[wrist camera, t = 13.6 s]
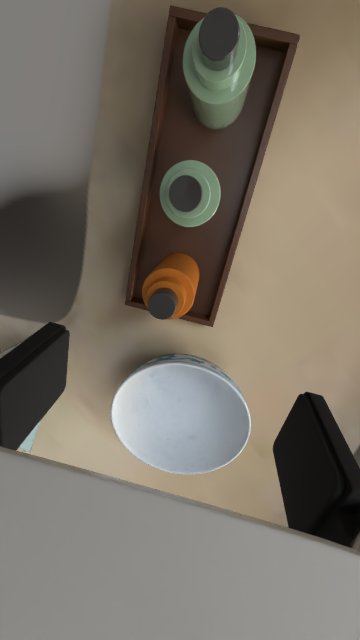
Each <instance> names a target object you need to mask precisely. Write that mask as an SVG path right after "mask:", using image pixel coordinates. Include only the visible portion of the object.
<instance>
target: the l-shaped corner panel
mask: <svg viewBox="0 0 360 640" xmlns="http://www.w3.org/2000/svg"><path fill="white" fill-rule="evenodd" d="M40 421H41V420H40ZM40 421H39V423H38V424H37V425H36V426H35V428H34V429H33V430H32V431H31V433H30V434H29V435H28V436H27V438H26V439H25V440H24V441H23V443H22V444H21V445H20V446H19V448H21V449H23V450H25V451H27V452H30V449H31V446H32V443H33V441H34V438H35V435H36V432H37V429H38V427H39V424H40Z"/></svg>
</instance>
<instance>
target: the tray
mask: <svg viewBox="0 0 360 640" xmlns="http://www.w3.org/2000/svg"><path fill="white" fill-rule="evenodd" d="M206 15H207V14H205V13H201V12H197V11H192V10H188V9H183V8H179V7H175V6H170V10H169V17H168V23H167V30H166V37H165V43H164V50H163V56H162V63H161V70H160V76H159V83H158V89H157V96H156V103H155V109H154V116H153V122H152V129H151V136H150V142H149V149H148V155H147V162H146V169H145V175H144V182H143V188H142V195H141V202H140V208H139V215H138V221H137V228H136V235H135V241H134V248H133V254H132V261H131V268H130V274H129V281H128V287H127V294H126V301H125V305H128V306H132V307H136V308H140V309H144V310H148V311H149V309H148V308H147V306H146V305H145V303H144V300H143V296H142V287H143V284H144V281H145V280H146V278H147V277H148V276H149V275H150V273H151V272H152V271H153V270H154V269H155V268H156V267H157V266H158V265H159V264H160V263H161V262H162V260H163V259H164V258H166V257H167V256H169V255H171V254H174V253H182V254H186V255H188V256H190V257H191V258H192V259H193V260H194V261H195V262H196V263H197V265H198V268H199V273H200V276H199V281H198V286H197V290H196V294H195V298H194V302H193V305H192V307H191V308H190V310H189V311H188V312H187V313H186V314H184V315H183V316H181V317H178V318H179V319H183V320H187V321H191V322H195V323H199V324H203V325H207V326H211V327H213V325H214V321H215V318H216V315H217V311H218V308H219V305H220V301H221V298H222V295H223V291H224V288H225V285H226V281H227V278H228V275H229V271H230V268H231V265H232V261H233V258H234V255H235V251H236V248H237V245H238V241H239V238H240V235H241V231H242V228H243V225H244V221H245V218H246V215H247V211H248V208H249V205H250V201H251V198H252V195H253V191H254V188H255V185H256V181H257V178H258V175H259V171H260V168H261V165H262V161H263V158H264V155H265V151H266V148H267V145H268V141H269V138H270V135H271V131H272V128H273V125H274V121H275V118H276V115H277V111H278V108H279V105H280V101H281V98H282V95H283V91H284V88H285V85H286V81H287V78H288V75H289V71H290V68H291V65H292V61H293V58H294V55H295V51H296V48H297V44H298V41H299V38H300V35H298V34H293V33H289V32H285V31H280V30H276V29H271V28H267V27H263V26H258V25H254V24H249V23H247V25H248V26H249V28H250V29H251V31H252V34H253V37H254V40H255V45H256V62H255V67H254V71H253V75H252V78H251V82H250V85H249V89H248V93H247V96H246V100H245V103H244V107H243V110H242V112H241V114H240V116H239V117H238V118H237V120H236V121H235V122H234V123H233V124H232V125H230V126H229V127H227V128H224V129H221V130H212V129H209V128H207V127H205V126H203V125H202V124H201V123H200V122H199V120H198V119H197V117H196V116H195V113H194V110H193V106H192V103H191V99H190V95H189V91H188V88H187V84H186V80H185V76H184V71H183V53H184V48H185V45H186V42H187V39H188V37H189V35H190V33H191V31H192V30H193V28H194V27H195V26H196V25H197V24H198V22H199V21H200V20H202V19H203V18H204V17H205V16H206ZM185 160H196V161H200V162H202V163H204V164H206V165H207V166H209V167H210V168H211V169H212V170H213V171H214V173H215V174H216V176H217V178H218V180H219V184H220V189H221V197H220V203H219V206H218V208H217V210H216V212H215V213H214V215H213V216H212V217H211V218H210V219H209V220H208V221H207V222H205V223H203V224H202V225H199V226H195V227H184V226H180V225H178V224H176V223H174V222H173V221H172V220H170V219H169V218H168V216H167V215H166V214H165V212H164V210H163V208H162V206H161V202H160V186H161V182H162V180H163V178H164V176H165V174H166V173H167V171H168V170H169V169H170V168H171V167H172V166H174V165H175V164H177V163H179V162H181V161H185Z"/></svg>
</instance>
